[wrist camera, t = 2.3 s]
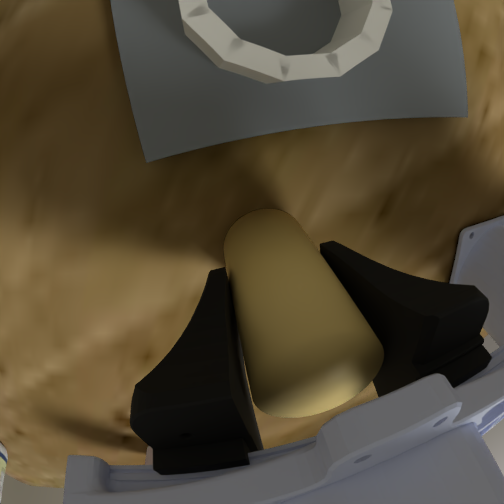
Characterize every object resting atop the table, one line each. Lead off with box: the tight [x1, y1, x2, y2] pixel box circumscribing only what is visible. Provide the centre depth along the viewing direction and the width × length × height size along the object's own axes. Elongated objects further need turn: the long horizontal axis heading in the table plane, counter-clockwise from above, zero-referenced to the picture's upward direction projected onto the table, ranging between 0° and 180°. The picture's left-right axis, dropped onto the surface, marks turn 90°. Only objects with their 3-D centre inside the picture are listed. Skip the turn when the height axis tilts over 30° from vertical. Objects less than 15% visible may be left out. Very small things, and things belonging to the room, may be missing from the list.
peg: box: [223, 209, 384, 418], centre depth 11 cm, size 4×4×8 cm
